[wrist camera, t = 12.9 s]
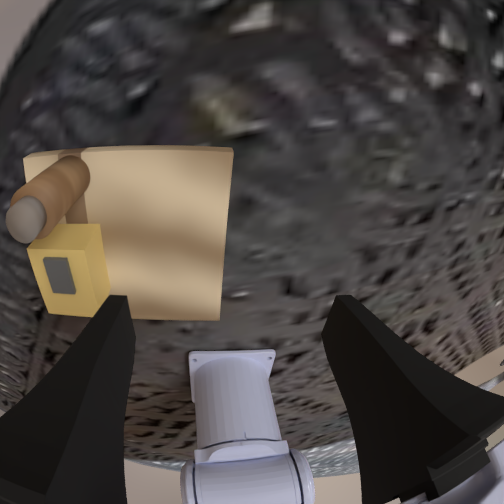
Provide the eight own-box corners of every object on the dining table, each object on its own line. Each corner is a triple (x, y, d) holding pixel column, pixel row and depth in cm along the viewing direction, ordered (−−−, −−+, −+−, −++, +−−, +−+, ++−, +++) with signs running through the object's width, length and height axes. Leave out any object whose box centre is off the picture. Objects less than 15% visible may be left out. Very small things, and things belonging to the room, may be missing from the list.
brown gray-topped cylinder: (92, 196, 15) (50, 251, 10) (56, 197, 15) (8, 251, 10) (88, 153, 14) (38, 193, 9) (51, 157, 13) (-6, 198, 8)
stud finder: (110, 287, 19) (100, 321, 16) (62, 285, 18) (47, 316, 15) (99, 223, 16) (82, 253, 14) (46, 224, 16) (24, 251, 13)
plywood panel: (218, 309, 23) (219, 320, 22) (65, 303, 21) (60, 313, 20) (231, 147, 16) (233, 152, 15) (32, 152, 14) (23, 158, 13)
